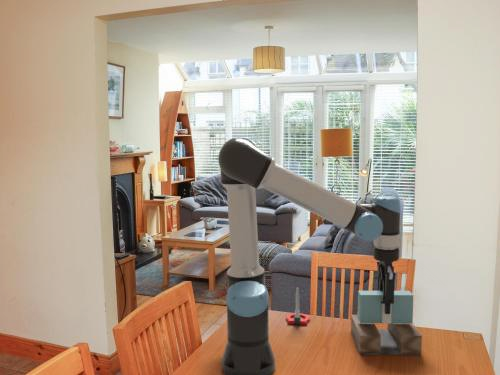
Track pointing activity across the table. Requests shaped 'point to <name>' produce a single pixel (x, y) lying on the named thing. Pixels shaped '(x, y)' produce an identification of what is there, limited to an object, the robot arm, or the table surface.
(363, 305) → the teal beam
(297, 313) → the tow hook
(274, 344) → the table surface
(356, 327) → the grey grooved block
